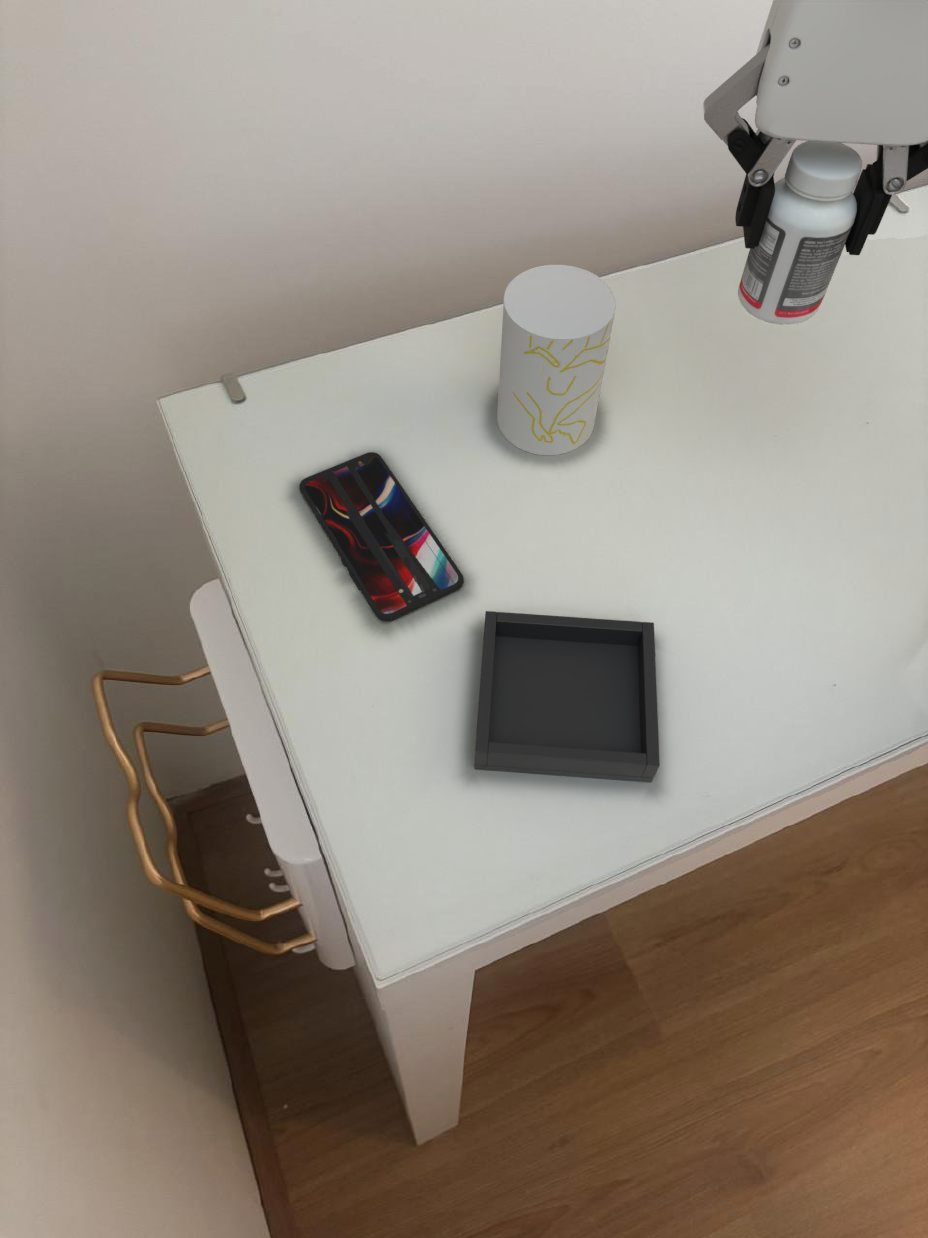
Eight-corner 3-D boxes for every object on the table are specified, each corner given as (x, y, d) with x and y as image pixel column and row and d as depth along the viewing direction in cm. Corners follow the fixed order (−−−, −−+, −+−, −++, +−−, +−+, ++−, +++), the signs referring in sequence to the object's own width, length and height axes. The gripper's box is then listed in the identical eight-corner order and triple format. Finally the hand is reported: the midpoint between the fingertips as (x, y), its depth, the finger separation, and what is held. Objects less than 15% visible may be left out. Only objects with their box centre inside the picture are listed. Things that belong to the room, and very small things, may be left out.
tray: (646, 642, 65) (654, 622, 63) (651, 782, 60) (659, 766, 57) (484, 631, 66) (485, 610, 63) (474, 769, 60) (474, 752, 58)
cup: (513, 463, 74) (523, 348, 64) (485, 393, 78) (490, 274, 68) (608, 444, 75) (632, 327, 65) (575, 376, 79) (593, 256, 69)
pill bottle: (827, 287, 61) (884, 145, 53) (808, 337, 58) (865, 195, 50) (747, 265, 62) (792, 122, 54) (726, 313, 60) (768, 171, 51)
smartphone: (376, 448, 74) (468, 581, 67) (376, 453, 74) (468, 587, 67) (293, 481, 72) (380, 623, 65) (295, 487, 72) (380, 628, 66)
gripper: (1099, -146, 43) (930, 210, 58) (727, -161, 43) (658, 193, 59) (1147, -75, 39) (952, 286, 54) (737, -94, 39) (659, 267, 55)
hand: (800, 235), depth 56 cm, fingers closed on pill bottle, 5 cm apart
